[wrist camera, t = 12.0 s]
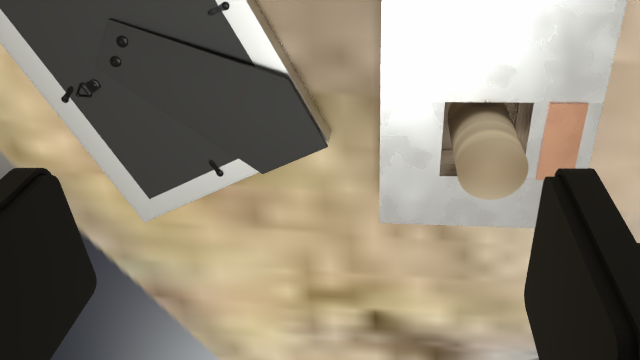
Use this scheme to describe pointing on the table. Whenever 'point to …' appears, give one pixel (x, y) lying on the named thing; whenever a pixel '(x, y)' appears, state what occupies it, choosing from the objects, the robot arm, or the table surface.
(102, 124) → the picture frame
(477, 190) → the peg
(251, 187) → the table surface
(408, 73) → the block
